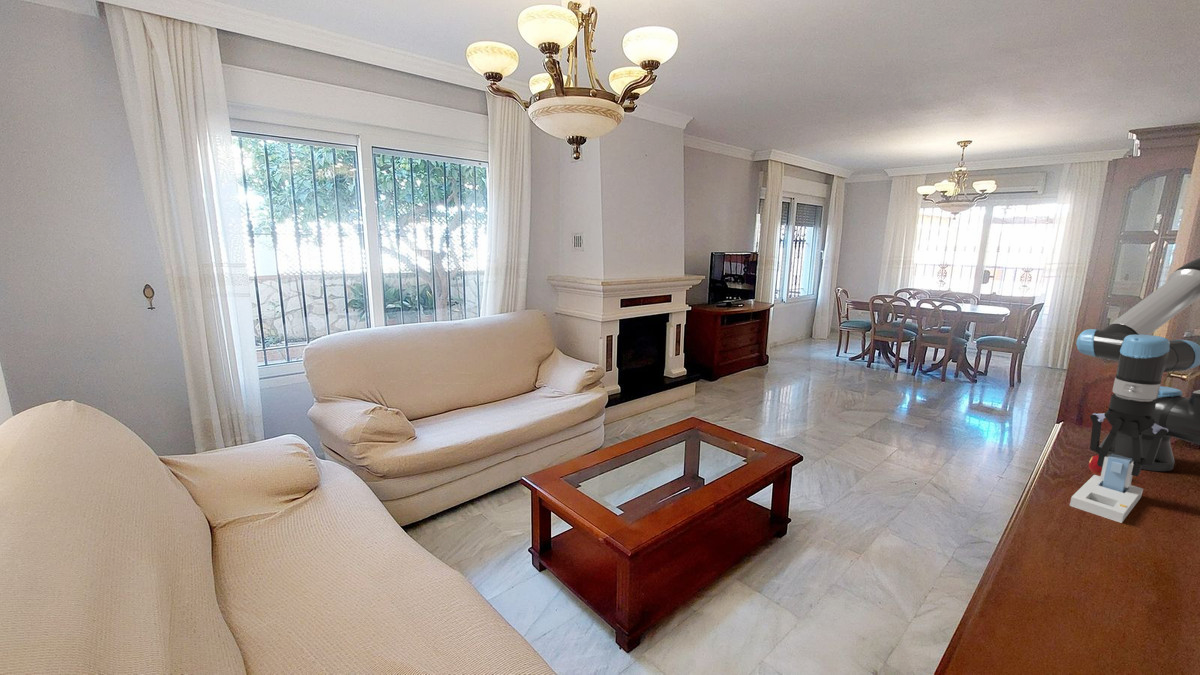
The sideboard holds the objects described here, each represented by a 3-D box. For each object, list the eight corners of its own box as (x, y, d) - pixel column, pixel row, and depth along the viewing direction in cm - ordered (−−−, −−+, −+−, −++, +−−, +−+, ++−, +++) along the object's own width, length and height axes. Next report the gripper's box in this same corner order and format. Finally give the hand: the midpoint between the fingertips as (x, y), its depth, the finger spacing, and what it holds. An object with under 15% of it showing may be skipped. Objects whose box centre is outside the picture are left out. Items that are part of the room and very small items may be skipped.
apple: (1096, 483, 130) (1100, 461, 129) (1072, 469, 138) (1076, 448, 136) (1129, 484, 129) (1134, 463, 128) (1104, 470, 137) (1108, 450, 135)
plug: (1104, 488, 125) (1112, 453, 123) (1124, 494, 122) (1132, 458, 120) (1100, 493, 123) (1107, 458, 121) (1120, 499, 120) (1128, 463, 118)
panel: (1091, 484, 129) (1094, 473, 129) (1140, 499, 122) (1143, 487, 121) (1069, 507, 119) (1071, 496, 118) (1121, 525, 111) (1123, 513, 111)
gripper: (1082, 391, 122) (1066, 473, 127) (1183, 409, 109) (1160, 501, 113) (1091, 385, 126) (1075, 465, 131) (1189, 402, 113) (1167, 491, 117)
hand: (1115, 482), depth 122 cm, fingers closed on plug, 4 cm apart
